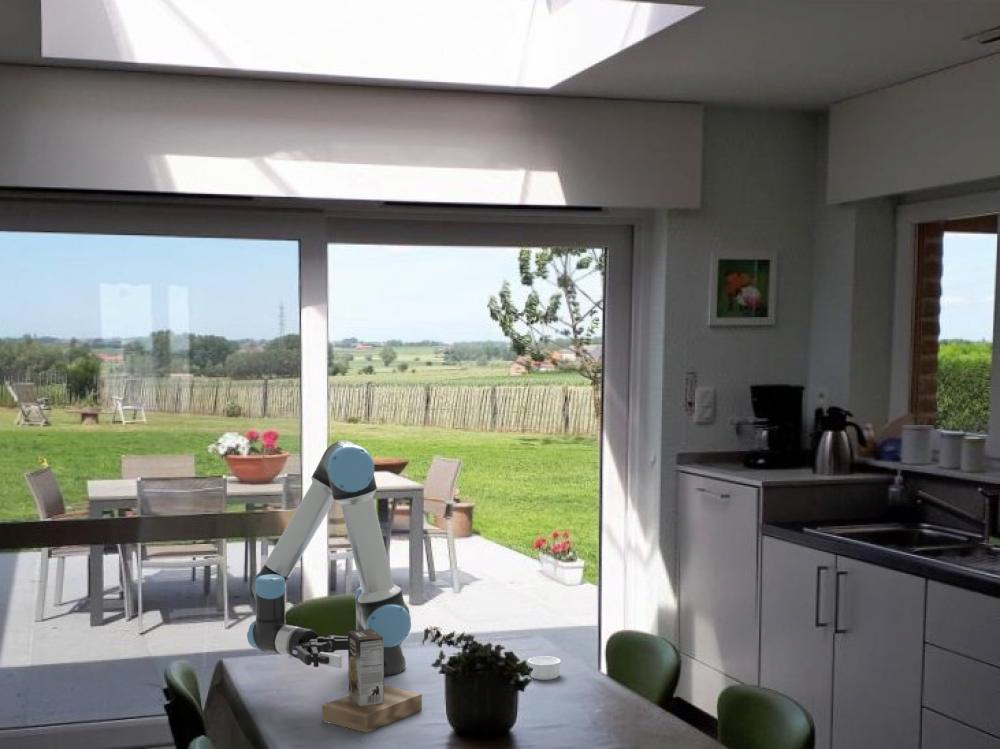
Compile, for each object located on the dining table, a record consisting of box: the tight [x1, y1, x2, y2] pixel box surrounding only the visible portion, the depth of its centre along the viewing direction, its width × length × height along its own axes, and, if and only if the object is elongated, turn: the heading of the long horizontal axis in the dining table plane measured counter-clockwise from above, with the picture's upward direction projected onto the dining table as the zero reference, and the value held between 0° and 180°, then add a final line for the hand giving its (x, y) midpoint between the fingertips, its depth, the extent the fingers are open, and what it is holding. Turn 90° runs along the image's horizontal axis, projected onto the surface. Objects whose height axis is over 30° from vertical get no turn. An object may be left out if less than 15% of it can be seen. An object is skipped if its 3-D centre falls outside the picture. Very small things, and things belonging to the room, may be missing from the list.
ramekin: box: [527, 655, 562, 681], centre depth 320 cm, size 9×9×4 cm
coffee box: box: [347, 629, 385, 706], centre depth 288 cm, size 9×6×16 cm
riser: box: [321, 685, 423, 733], centre depth 289 cm, size 20×14×4 cm
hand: (360, 655), depth 289 cm, fingers open, 13 cm apart
